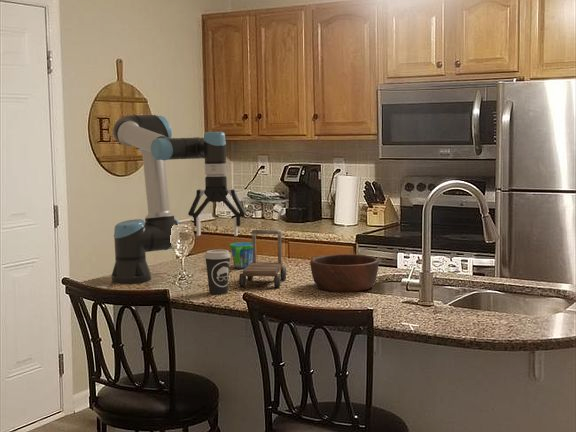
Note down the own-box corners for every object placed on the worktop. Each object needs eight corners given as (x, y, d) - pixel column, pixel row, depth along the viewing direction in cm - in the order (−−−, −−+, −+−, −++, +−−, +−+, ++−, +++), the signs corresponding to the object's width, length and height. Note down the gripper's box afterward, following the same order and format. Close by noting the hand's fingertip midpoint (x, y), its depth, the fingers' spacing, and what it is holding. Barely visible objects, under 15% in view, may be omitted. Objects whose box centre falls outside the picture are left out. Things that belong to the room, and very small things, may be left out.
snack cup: (247, 271, 317) (246, 247, 316) (224, 270, 321) (223, 246, 320) (261, 265, 332) (261, 241, 330) (239, 264, 335) (238, 240, 334)
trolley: (278, 288, 281) (277, 236, 279) (239, 288, 283) (238, 236, 281) (286, 278, 300) (285, 229, 297) (249, 278, 302) (248, 229, 300)
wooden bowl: (343, 278, 300) (343, 251, 299) (392, 286, 282) (392, 259, 281) (296, 287, 284) (296, 259, 282) (345, 297, 265) (345, 268, 264)
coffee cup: (234, 290, 280) (233, 249, 278) (229, 295, 271) (228, 253, 269) (208, 289, 281) (207, 249, 279) (202, 295, 271) (201, 253, 270)
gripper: (178, 176, 269) (180, 236, 272) (248, 176, 266) (249, 237, 268) (184, 175, 277) (186, 233, 279) (252, 174, 273) (253, 234, 275)
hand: (217, 235), depth 274 cm, fingers open, 13 cm apart
